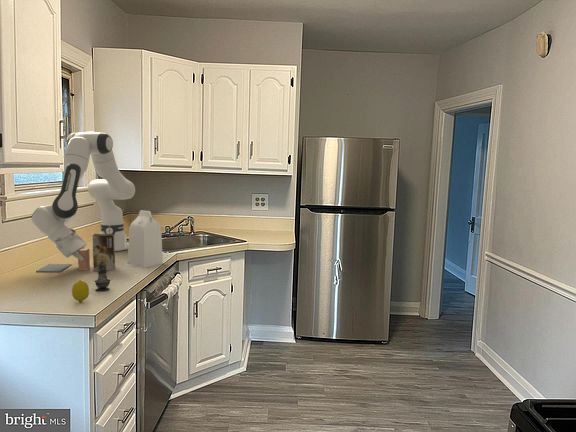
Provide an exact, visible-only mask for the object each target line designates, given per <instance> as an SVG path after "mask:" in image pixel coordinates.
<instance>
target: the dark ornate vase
mask: <svg viewBox="0 0 576 432" xmlns="http://www.w3.org/2000/svg"><path fill="white" fill-rule="evenodd" d="M107 272H108V270H106V263H105V262H104V261H103V259H102V260H101V262H100V263H99V264H98V271H97V273H98V276H97V278H96V279H95V280H94V283H95V287H97V288H96V289H95V292H98V293H99V292H100V293H101V292H102V293H103V292H108V291H111V288H110V287H109V286H110V284H111V281H112V280H111V279H109V278H108V277H107V276H108V274H107Z"/></svg>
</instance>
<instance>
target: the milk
mask: <svg viewBox="0 0 576 432" xmlns="http://www.w3.org/2000/svg"><path fill="white" fill-rule="evenodd" d="M161 226H162V225H160V223H159V222H158V221H157V220H156V219H155V218H154V217H153V216H152V212H151V211H150V210H143V209H142V210H139V212H138V216H137V217H136V218H134V220H133V221H132V222H131V224H130V225H129V229H128V243H129V246H128V249H127V251H128V252H127V265H132V266H137V267H141V268H147V267H153V266H156V265H157V266H158V265H162V264H164V260H163V259H164V258H163V256H164V255H163V242H162V241H163V240H162V227H161Z"/></svg>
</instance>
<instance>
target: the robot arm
mask: <svg viewBox="0 0 576 432" xmlns="http://www.w3.org/2000/svg"><path fill="white" fill-rule="evenodd" d="M113 147H114V141H113V138H112V137H111V136H110V134H108V133H106V132H97V131H96V132H95V131H85V132H83V131H81V132H78V131H75V132H72V133H70V134H68V136H67V138H66V148H65V151H64V155H63V158H64V171H63V170H62V173H63V180H62V183H61V188H60V191H59V194H58V195H57V196H56V197H55V199H54V200H53V202H52V204H49V205H41V206H39V207H37V208H36V210H34V211H33V213H31V214H32V215H31V222H32V224H33V225H34V226H35V227H36V228H37V229H38V230H39V231H40V232H41V233H43V234H44V235H46V236H47V238H48V240H50V241H51V242H52V243H53V244H54V245H55V246H56V248H57V250H58V251H59V252H60V253H61V254H62V255H63V256H64V257H66V258H69V257H71V256H73V257H74V258H76V259H77V260H78V259H79V260H80V261H82V260H84V259H85V257H84V256H83V255H80V254H79V253H78V250H80V249H85V247H87V242H86V241H85V240H84V239H83V238H82V236H80V235H79V234H78V233H77V230H75V229H73V228H69V227H68V226H67V225H66V224H67V223H70V222H72V220H74V219H75V217H76V215H77V211H78V208H79V207H78V205H79V204H78V200H77V191H78V185H79V182H80V179H81V178H82V177H83V176H85V174H86V172H87V170H88V166H89V163H90V158H91V160H92V162H93V163H92V164H93V168H94V171H95V173H96V174H97V176H98V177H100V179H99V178H98V179H94V180H91V181H90V182H89V184H88V186H87V190H88V193H89V196H90V197H91V198H93V199H94V200H95V201H96V203H97V204H98V206H99V210H100V218H101V224H100V233H99V232H98V234H114V237H115V252H119V251H124V250H125V251H126V250H127V251H128V246H129V240H128V238H127V235H126V232H125V231H124V230H125V224H124V220H123V219H124V218H123V217H124V216H123V210H122V209H121V207H120V206H119V205H118V206H117V205H116V204H115V203H114V202H115V201H116V200H117V201H119V200H120V201H121V200H122V201H125V200H129V199H132V198H133V197H134V196H135V193H136V186H135V184H134V183H133V182H132V181H130V180H129V179H128V178H126V177H125V176H124V175H123V174H122V173H121V171H120V170H119V167H118V165H117V161H116V158H115V155H114V154H115V153H114V151H113ZM90 156H91V157H90ZM101 178H102V179H101ZM114 200H115V201H114Z"/></svg>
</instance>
